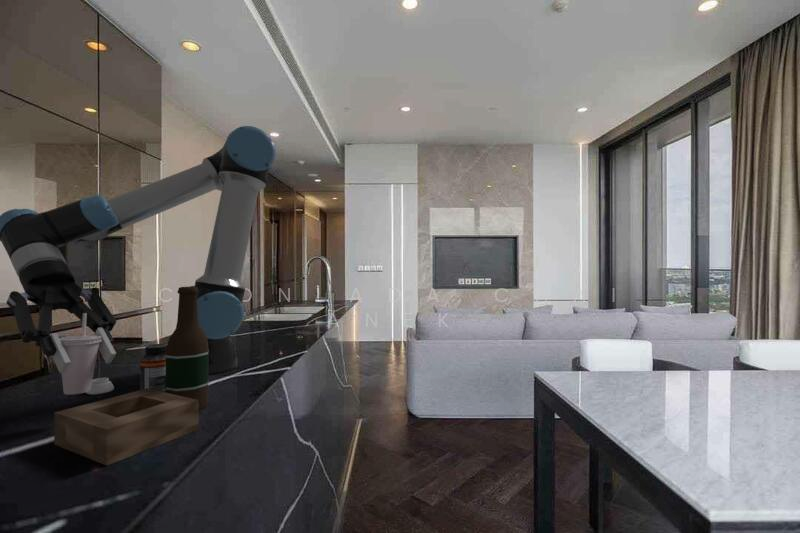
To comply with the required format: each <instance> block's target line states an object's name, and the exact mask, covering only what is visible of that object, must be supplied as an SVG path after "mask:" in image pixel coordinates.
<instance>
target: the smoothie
mask: <svg viewBox="0 0 800 533" xmlns="http://www.w3.org/2000/svg"><path fill="white" fill-rule="evenodd" d="M86 318H87V313H83V320H82V321H81V325H82V326H81V335H69V336H62V337H59V338H60V341H61V343H62V345H63V347H64V349H65V351H66V353H67V355H68V357H69V359H70V361H71V362H70V364H69V366H68V368H67V370H66V372H63V373H61V380H62V391H63V394H64V395H80V394H83V393H84V394H86V392H88V391H90V389H91V384H92V380H94V372H95V368H96V362H97V357H98V352H99V349H98V347H99V342H102V340H101V336H99V335H94V334H86V333H87V325H86Z"/></svg>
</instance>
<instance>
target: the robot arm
mask: <svg viewBox="0 0 800 533" xmlns="http://www.w3.org/2000/svg"><path fill="white" fill-rule="evenodd" d="M276 152H277V151H276V145H275V143H274V141H273V139H272V138H271V137H270V136H269V134H268V133H267V132H265V131H263V130H262V129H261V128H258V127H256V126H251V125H244V126H240V127H239V126H238V127H237V128H235V129H234V130H232V131H231V132H230V133H229V134H228V135H227V138H226V141H225V142H224V145H223V146H222V148H220V149H219V150H218V151H217V152H215V153H214V154H212V155H210V156H208V157H205V158H203V159H202V163H201V164H198V165H195V166H193V167H189V168H188V169H185V170H182V171H180V172H176V173H173V174H172V175H170V176H167V177H164V178H162V179H159V180H157V181H154V182H151V183H149V184H146V185H143V186H140V187H139V188H136V189H133V190H131V191H128V192H126V193H125V192H124V193H123V194H121V195H118V196H115V197H112V198H109V199H106V198H105V196H103V195H101V194H96V195H92V196H88V197H82V198H81V199H78V200H76V201H73V202H71V203H67V204H64V205H62V206H59V207H56V208H52V209H50V210H47V211H44V212H43V211H42V212H40V213H39V212H37V210H33V209H30V208H20V209H19V208H13V209H9V210H7V211H4V212H3V213H2V214H0V242H1V244H2V246H3V247H4V250H5V251H6V252H5V253H6V254H7V255H8V257H9V259H10V262H11V265H12V266H13V269H14V271H15V273H16V275H17V277H18V279H19V283H20V284H21V286H22V288H23V290H24V292H20V291H16V290H13V291H11V292H10V293H9V296H8V298H7V300H6V305H7V306H8V307H9V308H10V309H11V310H12V311H13V314H14V318H15V322H16V324H17V328H18V331H19V335H20V338H21V342H23V343H27V344H28V343H31V342H35V343H34V344H35V346H36V347H40V348H41V350H42V353H43V354H44V356H46V357H52V359H53V362H54V363H55V365H56V368H57V370H58V373H59V374H62V373H63V372H66V370H67V368H68V366H69V364H70V362H71V361H70V359H69V357H68V355H67V353H66V351H65V349H64V347H63V345H62V343H61V341H60V338H61V337H59V334H58V333H57V332H54V333H51V329H52V327H51V326H52V317H53V316H52V315H53V311H57V310H66V311H67V312H68V313H70V314H71V315H72V314H73V315H74V316H75V317H77V318H78V320H80V321H81V322H82V320H83V313H87V318H86V327H87V328H89V330H91V331H92V332H93V333H94V334H93V335H99V336H101V340H102V342H99V347H98V352H99V353H100V355H101V357H102V358H103V360H104V362H105V364H106V365H107V364H111V363H112V362H113V360H114V358H115V357H116V355H117V352H116V350H115V348H114V346H113V345H112V344H113V342H114V338H113V336H112V334H111V332H112V331H113V329H114V328H115V326H116V324H117V320H116V318H115V317H114V315H113V314H112V312H111V311H110V309H109V308H108V306H107V305H106V304H105V302H104V301H103V299H102V298H101V296H100V290H99V288H97V287H91V289H82V287H80V286H79V285H78V284H77V283H76V281H75V280H76V279H75V277H74V274H73V273H72V271H71V269H70V268H69V265H68V264H67V261H66V259H65V257H64V256H63V254H62V253H61V252H62V251H60V247H63V246H66V245H69V244H71V243H75V242H77V241H80V240H83V241H86V242H87V241H88V242H98V241H101V240H104V239H106V238H107V237H108V236H110V235H111V234H115V233H116V232H119V231H120V230H123V229H125V228H127V227H130V226H132V225H135V224H136V223H139V222H142V221H144V220H146V219H150V218H151V217H153V216H155V215H159V214H161V213H164V212H166V211H168V210H170V209H173V208H175V207H177V206H180V205H182V204H184V203H186V202H187V203H188V202H190V201H192V200H194V199H196V198H199V197H201V196H204V195H205V194H207V193H210V192H213V191H215V190H216V191H220V192H221V193H220V196H219V197H220V198H219V202H218V207H217V212H216V216H215V222H214V225H213V229H212V230H213V231H212V235H211V239H210V244H209V249H208V254H207V258H206V263H205V267H204V273H203V275H201V276H200V277H198V278H197V279H195V283H194V285H189V286H188V287H197V289H198V292H197V308H198V321H199V326H200V328H201V329H202V330H203V332H204V333H205V335H206V337H207V340H208V375H211V374H217V373H218V374H219V373H223V372H227V371H230V370H233V369H235V368H237V366H238V357H237V355H236V351H235V348H234V345H233V342H232V340H231V339H232V338H231V335H233V334H234V333H236V332H237V330H239V328H240V327H241V325H242V322H243V320H244V316H245V315H244V313H245V312H244V306H243V301H244V298H245V297H244V295H245V291H246V286H244V284H243V282H242V281H241V279H242V274H243V270H244V265H245V264H244V263H245V259H246V254H247V251H248V245H249V241H250V240H249V239H250V235H251V228H252V225H253V220H254V214H255V210H256V205H257V200H258V197H259V196H258V195H259V192H260V191H262V190H263V189H265V188H266V186H267V181H268V178H269V172H270V168H271V167H272V166H273V164H274V162H275V158H276V155H277V153H276ZM28 301H29V302H31V303H33V304H34V305H36V306H39V310H38V323H37V324H38V325H37V330H36V327H35V324H34V320H33V317H32V314H31V311H30V308H29V304H28ZM85 302H86V303H87V304H85Z"/></svg>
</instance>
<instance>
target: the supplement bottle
mask: <svg viewBox="0 0 800 533" xmlns="http://www.w3.org/2000/svg"><path fill="white" fill-rule="evenodd" d="M167 344H168V343H155V344H149V345H146V346H145V354H144V355H143V356H142V357H141V358H140V360H139V365H140V366H139V374H140V375H139V377H140V378H139V379H140V380H139V383H140V386H139V390H143V389H151V390H156V391H160V392H165V393H166V348H167Z"/></svg>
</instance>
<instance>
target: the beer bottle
mask: <svg viewBox="0 0 800 533" xmlns="http://www.w3.org/2000/svg"><path fill="white" fill-rule="evenodd" d="M197 292H198V289H197V287H189V286H181V287H178V290H177V292H176V293H178V309H177V320H176V326H175V329H174V331H173V332H172V334H171V335H170V337H169V339H168V342H167V343H166V344H167V348H166V393H169V394H174V395H178V396H183V397H188V398H192V399H197V400H199V411H201V410H203V409H207V406H208V402H209V374H208V340H207V337H206V335H205V333H204V332H203V330H202V329H201V328H200V326H199V321H198V308H197Z"/></svg>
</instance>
